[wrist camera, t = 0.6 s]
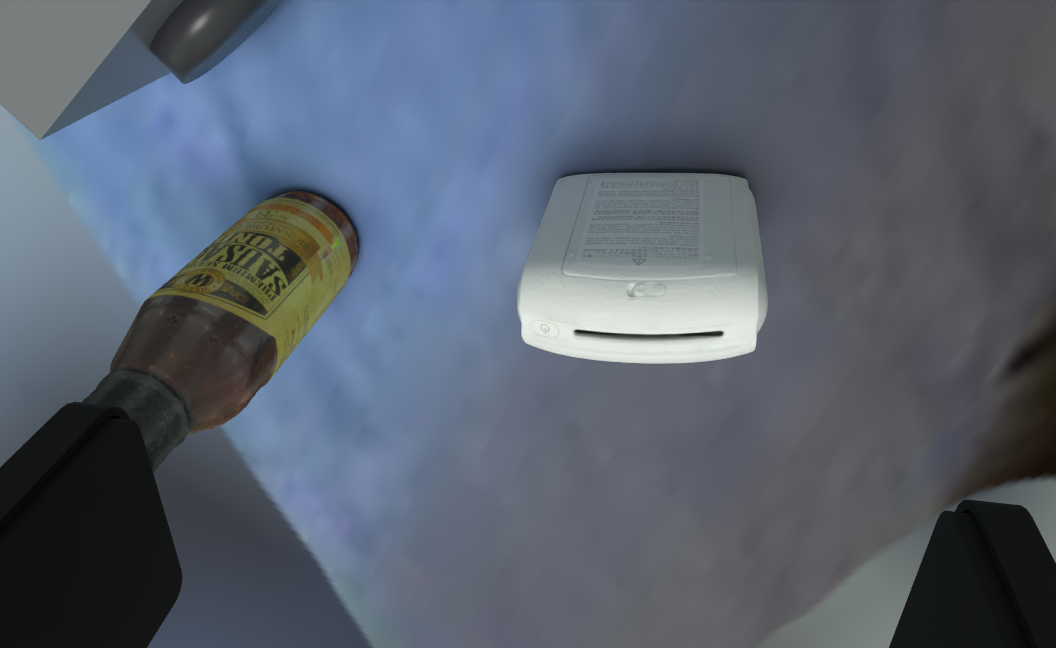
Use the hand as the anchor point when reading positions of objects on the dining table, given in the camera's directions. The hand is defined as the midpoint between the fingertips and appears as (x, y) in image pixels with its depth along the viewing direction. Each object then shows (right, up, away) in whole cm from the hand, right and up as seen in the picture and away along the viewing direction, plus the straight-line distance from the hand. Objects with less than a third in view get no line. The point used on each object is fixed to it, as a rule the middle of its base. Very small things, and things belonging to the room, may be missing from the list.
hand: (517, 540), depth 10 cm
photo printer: (+6, +9, +32) cm, 34 cm away
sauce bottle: (-12, +8, +36) cm, 39 cm away
